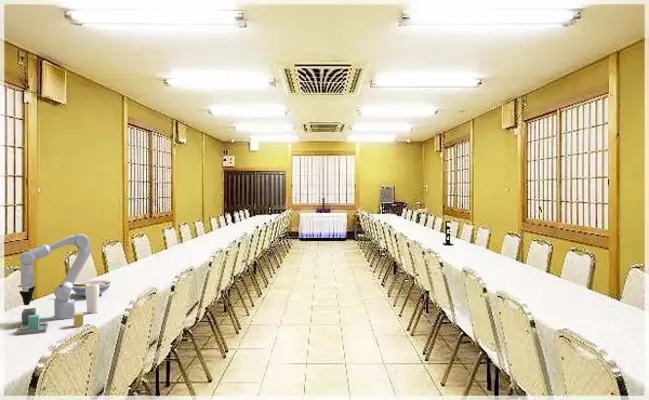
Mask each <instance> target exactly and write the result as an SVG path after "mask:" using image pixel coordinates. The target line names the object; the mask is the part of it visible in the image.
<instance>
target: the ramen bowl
mask: <svg viewBox="0 0 649 400" xmlns="http://www.w3.org/2000/svg"><path fill="white" fill-rule="evenodd" d="M92 283H97V284H99V295H101V294H103V293H104V292H106V291H107V290H108V289H109V287H110V286H111V284H112V282H111V280H110V281H109V280H100V279H99V280H98V279H97V280H85V281H84V280H83V281H78V282H74V284H73V287H72V291H73V292H74V293H75V294H77V295H79V296H83V297H85V298H86V293H85V286H86V285H87V284H92Z"/></svg>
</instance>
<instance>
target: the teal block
mask: <svg viewBox="0 0 649 400" xmlns="http://www.w3.org/2000/svg"><path fill="white" fill-rule="evenodd" d="M39 324H40V314H36V315H29V317H28V330H37V329H39Z"/></svg>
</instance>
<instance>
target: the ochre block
mask: <svg viewBox="0 0 649 400" xmlns="http://www.w3.org/2000/svg"><path fill="white" fill-rule="evenodd" d="M82 325H83V326H84V312H75V313H74V318H73V328H81V327H80V326H82Z"/></svg>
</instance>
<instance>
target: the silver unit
mask: <svg viewBox="0 0 649 400" xmlns="http://www.w3.org/2000/svg"><path fill="white" fill-rule="evenodd" d="M36 312H37V307H32V308H31V307H30V308H23V310H22V312H21V322H20V324H19V326H18V327H19V329H20V327H21V326H22V325H28V317H29V315H37V313H36Z"/></svg>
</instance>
